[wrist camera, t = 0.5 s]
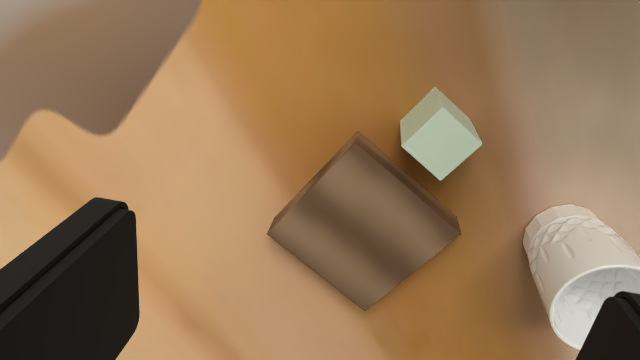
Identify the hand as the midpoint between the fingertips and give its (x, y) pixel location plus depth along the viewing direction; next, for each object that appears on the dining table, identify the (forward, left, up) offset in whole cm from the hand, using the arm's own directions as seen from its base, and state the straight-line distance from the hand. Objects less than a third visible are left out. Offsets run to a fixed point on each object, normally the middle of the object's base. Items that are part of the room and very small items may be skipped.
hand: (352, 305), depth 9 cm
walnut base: (+12, +9, -31) cm, 34 cm away
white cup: (+1, +23, -31) cm, 39 cm away
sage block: (+1, +7, -31) cm, 31 cm away
